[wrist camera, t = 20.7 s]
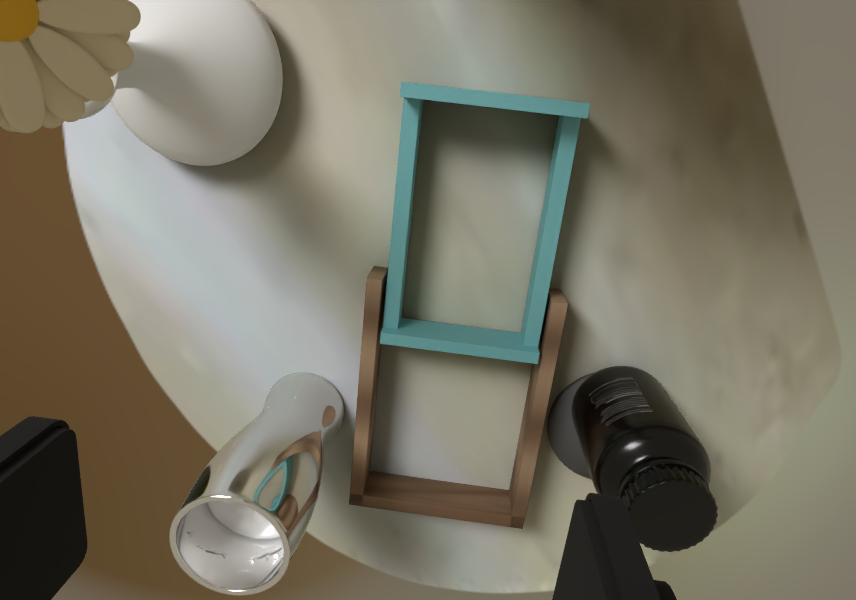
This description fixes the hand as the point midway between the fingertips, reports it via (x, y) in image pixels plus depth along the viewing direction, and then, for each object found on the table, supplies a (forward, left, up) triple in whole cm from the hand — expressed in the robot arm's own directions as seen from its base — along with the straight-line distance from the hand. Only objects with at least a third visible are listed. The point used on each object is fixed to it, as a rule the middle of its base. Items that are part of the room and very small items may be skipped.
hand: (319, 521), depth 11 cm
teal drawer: (+1, +3, -30) cm, 30 cm away
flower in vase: (-8, -15, -31) cm, 35 cm away
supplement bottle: (+12, +15, -30) cm, 36 cm away
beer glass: (+16, -8, -31) cm, 35 cm away
